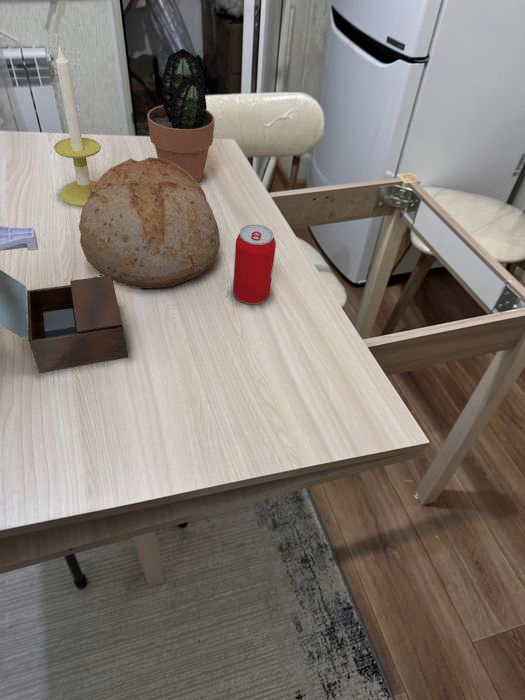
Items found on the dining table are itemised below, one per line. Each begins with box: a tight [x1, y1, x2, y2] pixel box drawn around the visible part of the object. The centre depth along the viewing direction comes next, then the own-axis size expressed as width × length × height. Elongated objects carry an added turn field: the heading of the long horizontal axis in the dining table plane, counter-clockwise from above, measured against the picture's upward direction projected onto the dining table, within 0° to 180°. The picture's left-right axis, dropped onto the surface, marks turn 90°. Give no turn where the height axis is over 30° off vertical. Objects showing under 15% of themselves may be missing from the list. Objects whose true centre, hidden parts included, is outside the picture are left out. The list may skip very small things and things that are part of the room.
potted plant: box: [146, 48, 216, 184], centre depth 100 cm, size 14×14×25 cm
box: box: [26, 275, 129, 374], centre depth 69 cm, size 12×11×7 cm
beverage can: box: [232, 223, 277, 305], centre depth 78 cm, size 6×6×12 cm
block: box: [43, 308, 79, 338], centre depth 69 cm, size 4×4×4 cm
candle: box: [53, 43, 102, 207], centre depth 90 cm, size 10×10×27 cm
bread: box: [78, 156, 221, 289], centre depth 83 cm, size 26×23×15 cm
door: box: [0, 269, 29, 340], centre depth 63 cm, size 6×11×1 cm
